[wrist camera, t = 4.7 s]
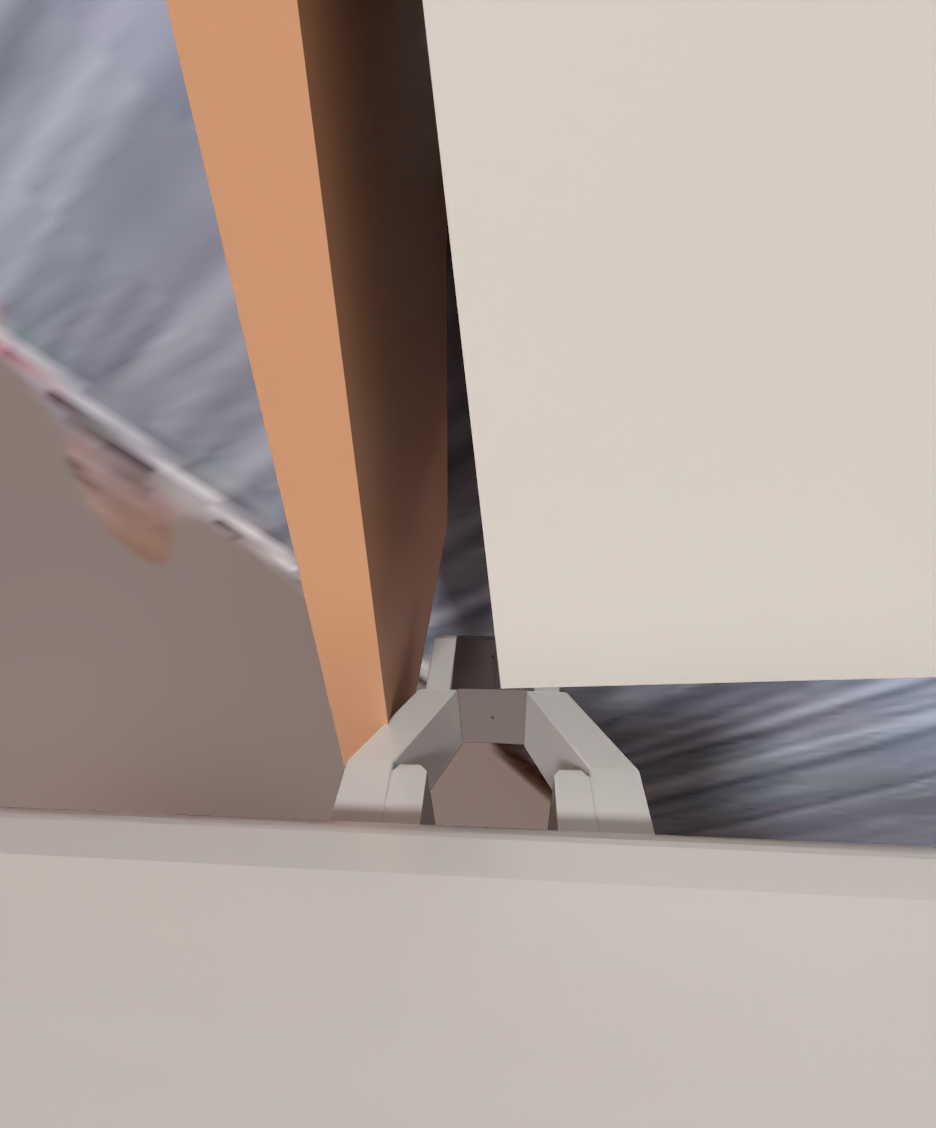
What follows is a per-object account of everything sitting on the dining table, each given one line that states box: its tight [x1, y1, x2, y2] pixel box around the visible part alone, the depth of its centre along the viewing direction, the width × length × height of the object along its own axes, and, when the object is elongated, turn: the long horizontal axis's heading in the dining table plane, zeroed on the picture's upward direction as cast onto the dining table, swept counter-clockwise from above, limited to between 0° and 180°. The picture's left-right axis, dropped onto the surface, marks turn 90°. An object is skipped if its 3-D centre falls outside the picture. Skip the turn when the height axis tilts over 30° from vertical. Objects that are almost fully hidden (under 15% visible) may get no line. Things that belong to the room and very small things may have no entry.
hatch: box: [166, 0, 448, 768], centre depth 10 cm, size 2×16×11 cm, turn 179°
